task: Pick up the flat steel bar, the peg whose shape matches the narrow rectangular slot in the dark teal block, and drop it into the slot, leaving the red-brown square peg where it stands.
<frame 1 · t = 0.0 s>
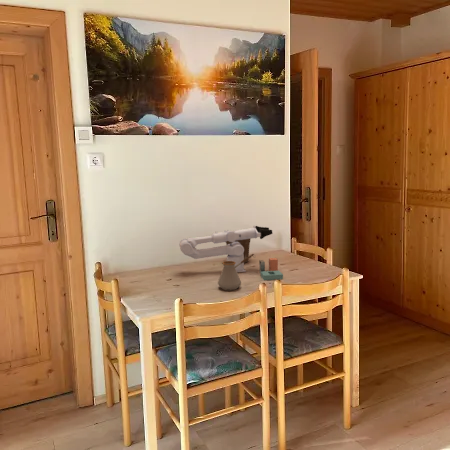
hand: (270, 230, 258), 22 cm above the table, tool horizontal, fingers open, 7 cm apart
plant pot: (238, 262, 279), on the table
square peg: (273, 271, 255), on the table
coffee pot: (237, 286, 230), on the table
steel bar: (262, 273, 252), on the table
slot block: (271, 277, 243), on the table
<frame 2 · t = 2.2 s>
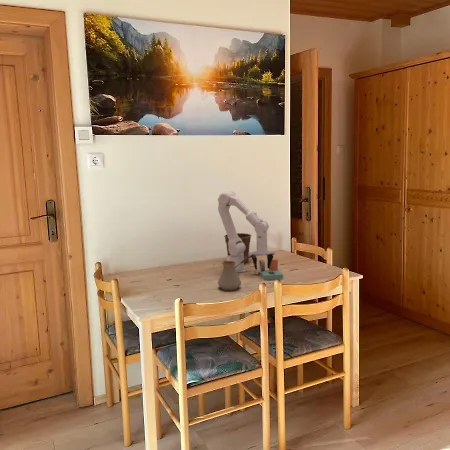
hand: (262, 268, 251), 3 cm above the table, tool pointing down, fingers open, 6 cm apart
square peg: (273, 271, 255), on the table, touching gripper
everything else where it was.
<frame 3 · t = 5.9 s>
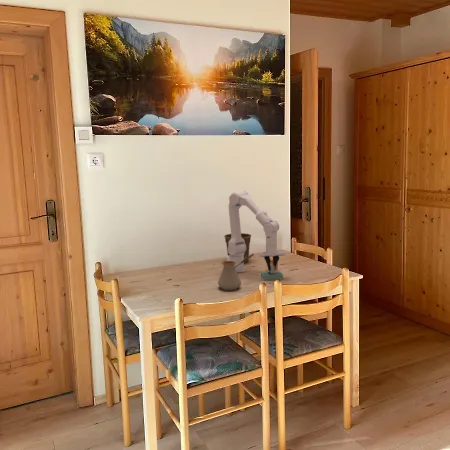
hand: (271, 270, 242), 4 cm above the table, tool pointing down, fingers closed on steel bar, 2 cm apart
square peg: (273, 271, 255), on the table
steel bar: (271, 277, 243), resting in slot block, touching gripper
everything else where it was.
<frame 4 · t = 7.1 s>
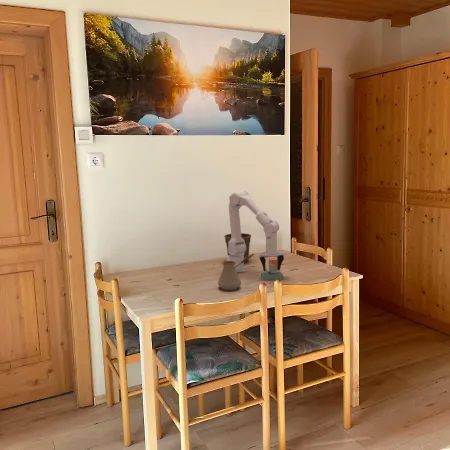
hand: (271, 270, 242), 4 cm above the table, tool pointing down, fingers open, 7 cm apart
steel bar: (271, 277, 243), resting in slot block
everything else where it was.
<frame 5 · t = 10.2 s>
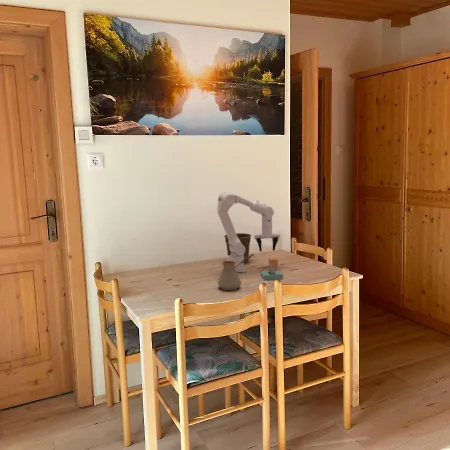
hand: (267, 250, 263), 9 cm above the table, tool pointing down, fingers open, 7 cm apart
nothing on the table moved.
at the end: steel bar 0.0 cm off-centre on the slot block, point 0.0 cm above the slot block's base; steel bar tilted 0°; square peg moved 0.1 cm from its start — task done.
